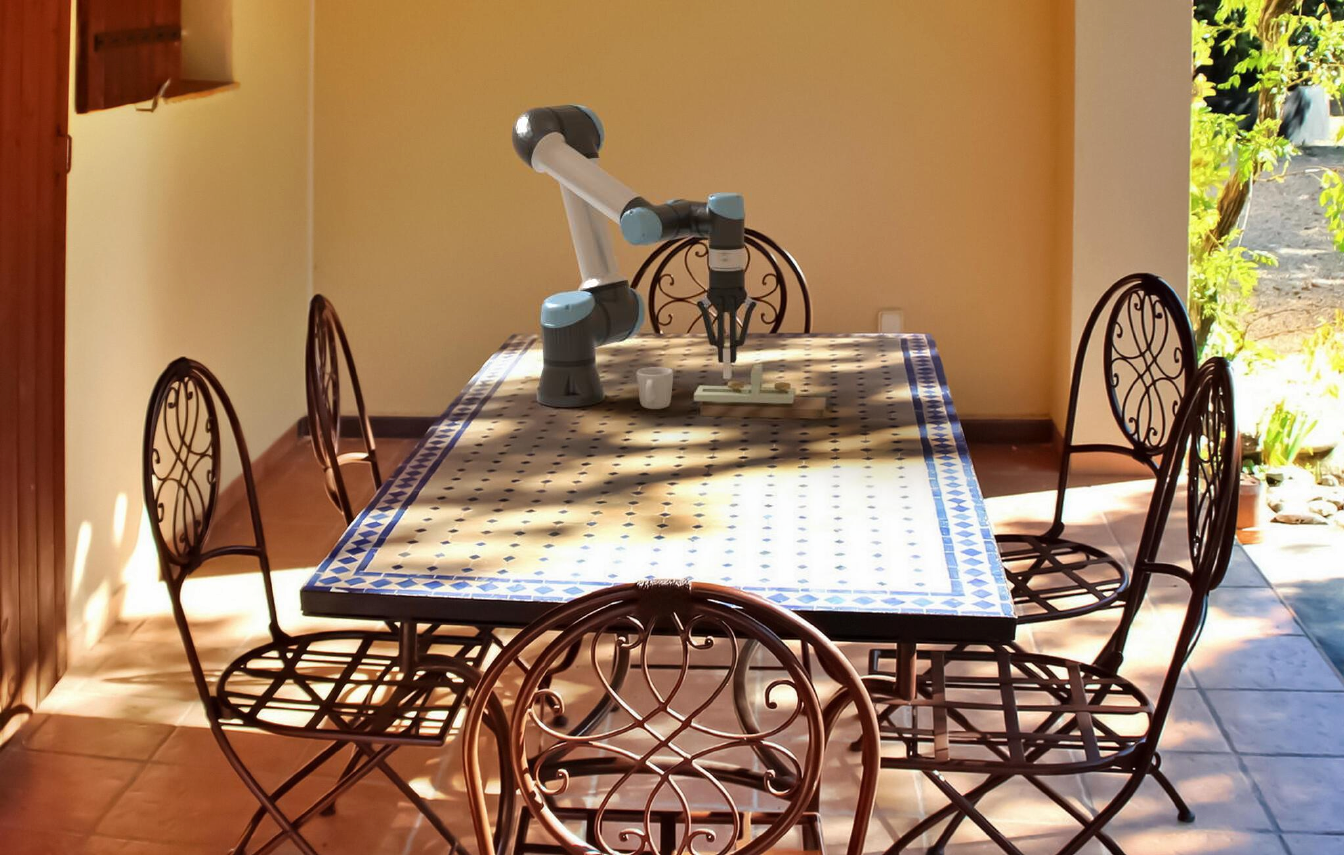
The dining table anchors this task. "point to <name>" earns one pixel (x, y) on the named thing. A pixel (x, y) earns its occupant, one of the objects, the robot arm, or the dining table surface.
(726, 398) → the panel
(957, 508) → the dining table surface
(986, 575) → the dining table surface
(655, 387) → the cup
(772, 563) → the dining table surface
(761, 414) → the rail
